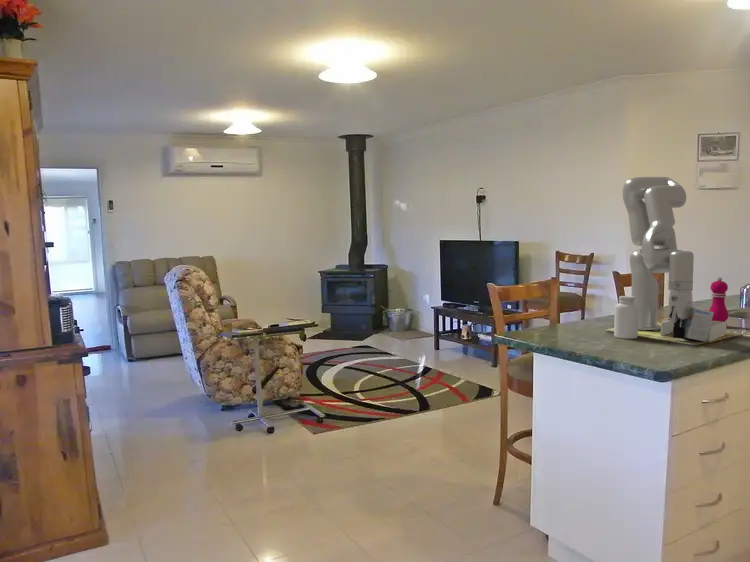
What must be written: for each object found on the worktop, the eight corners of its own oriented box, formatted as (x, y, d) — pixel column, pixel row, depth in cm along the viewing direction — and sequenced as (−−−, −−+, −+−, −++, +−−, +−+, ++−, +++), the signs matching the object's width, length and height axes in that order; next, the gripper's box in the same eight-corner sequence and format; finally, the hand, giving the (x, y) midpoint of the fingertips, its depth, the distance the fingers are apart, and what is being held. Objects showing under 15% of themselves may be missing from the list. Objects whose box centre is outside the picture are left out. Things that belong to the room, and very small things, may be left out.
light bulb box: (673, 332, 211) (680, 304, 210) (691, 336, 211) (698, 308, 210) (687, 338, 200) (695, 308, 199) (707, 342, 200) (714, 312, 199)
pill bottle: (635, 335, 213) (636, 295, 212) (639, 339, 206) (640, 298, 204) (612, 335, 216) (613, 295, 214) (615, 338, 208) (616, 297, 207)
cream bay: (709, 341, 201) (710, 327, 201) (660, 335, 213) (660, 322, 213) (725, 335, 212) (726, 322, 212) (678, 330, 225) (678, 317, 224)
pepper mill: (703, 325, 234) (705, 276, 232) (714, 324, 237) (716, 276, 235) (720, 328, 227) (722, 278, 226) (732, 327, 230) (734, 277, 229)
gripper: (683, 288, 194) (681, 342, 196) (700, 285, 204) (698, 336, 206) (660, 287, 200) (658, 339, 201) (677, 284, 210) (676, 334, 211)
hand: (678, 337), depth 203 cm, fingers closed
